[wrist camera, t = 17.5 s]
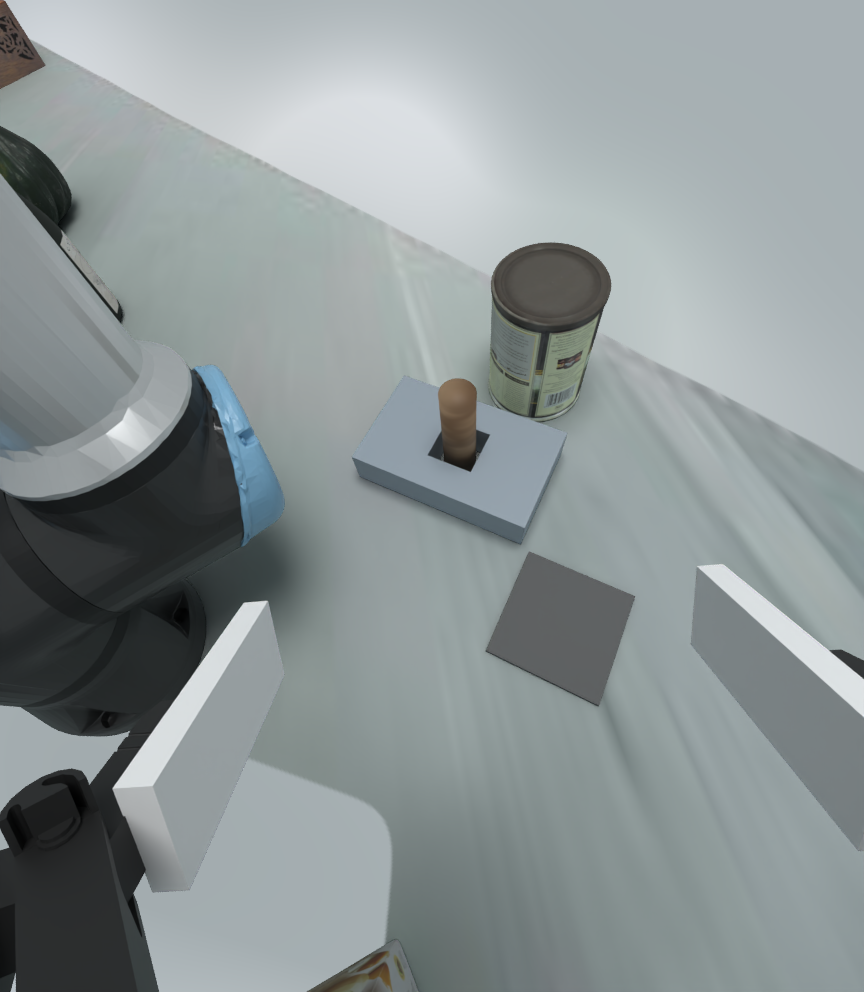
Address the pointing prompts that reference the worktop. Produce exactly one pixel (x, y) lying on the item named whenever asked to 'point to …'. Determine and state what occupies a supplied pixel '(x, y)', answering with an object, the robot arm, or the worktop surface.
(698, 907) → the worktop surface
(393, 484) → the socket board
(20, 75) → the tissue box cover
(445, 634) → the worktop surface
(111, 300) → the wine bottle
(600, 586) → the mat
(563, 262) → the coffee can
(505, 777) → the worktop surface
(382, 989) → the coffee box
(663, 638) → the worktop surface
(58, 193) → the squash
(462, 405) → the dowel
